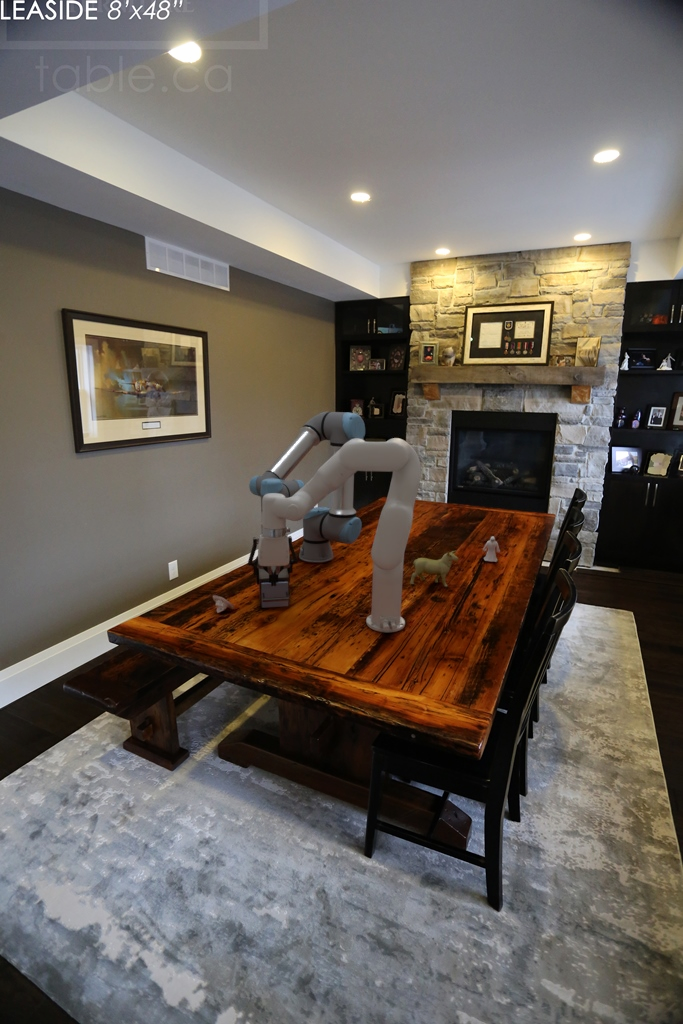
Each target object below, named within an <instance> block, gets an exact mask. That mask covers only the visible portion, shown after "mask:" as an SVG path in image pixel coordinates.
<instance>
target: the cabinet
mask: <svg viewBox="0 0 683 1024" xmlns="http://www.w3.org/2000/svg"><path fill="white" fill-rule="evenodd" d="M275 568H276V566H271V569H272V571H273V575H274V571H275ZM278 580H285V582H287V581H288V597H289V598H290V583H289V574H288V570H287V568H286V569H283V570H282V571H281V572H280V573H279V574H278ZM263 581H269V574H268V573H267V572H266V571H265V570H264V569H259V584H258V597H259V598H258V599H259V608H262V586H261V583H263ZM289 606H290V600H289V601H288V606H287V607H289Z"/></svg>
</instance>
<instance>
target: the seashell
mask: <svg viewBox="0 0 683 1024" xmlns="http://www.w3.org/2000/svg"><path fill="white" fill-rule="evenodd" d="M212 599H213V601H214V602H215V604H214V605H215V608H216V610H215V611H216V613H217V614H219V613H222V612H224V611H225V610H226V609H227V608H229V609H233V610H234V609H235V606H234V604H233V603H231V602H230V601H229V600H227V599H226V598H224V597H223V596H219V595H216V594H215V595H214V594H213V595H212Z"/></svg>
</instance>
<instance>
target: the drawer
mask: <svg viewBox="0 0 683 1024" xmlns="http://www.w3.org/2000/svg"><path fill="white" fill-rule="evenodd" d="M261 586H262V607H261V608H279V607H281V608H282V607H289V606H288V601H289V602H290V596H289V597H288V581H287V582H285V580H278V583H276V586H271V583H269V581H263V583H261Z"/></svg>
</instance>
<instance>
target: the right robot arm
mask: <svg viewBox="0 0 683 1024" xmlns="http://www.w3.org/2000/svg"><path fill="white" fill-rule="evenodd" d="M357 472H389V473H390V472H392V475H391V481H390V485H389V489H388V493H387V496H386V500H385V503H384V505H383V507H382V509H381V512H380V514H379V515H380V516H379V519H378V523H377V526H376V531H375V535H374V538H373V543H372V546H371V550H370V556H371V561H372V585H371V586H372V587H371V607H370V609H371V613H370V615H368V616H367V617H366V621H365V622H366V623H365V624H366V625H367V627H368V628H369V629H372V630H373V631H376V632H379V633H396V632H398V631H402V630H403V629H404V628H405V626H406V620H405V618H403V617H402V615H401V614H402V599H403V598H402V597H403V580H404V561H405V551H406V548H407V544H408V541H409V537H410V533H411V531H412V526H413V521H414V508H415V504H416V500H417V495H418V492H419V487H420V483H421V477H422V466H421V460H420V457H419V456H418V453H417V451H416V450H415V449H414V447H413V446H411V444H410V443H409V442H407V440H404V439H402V438H399V437H394V438H393V437H392V438H389V439H388V440H387V441H366V440H365V439H363V440H362V439H359V438H354V439H351V440H349V441H348V442H347V443H345V444H344V445H343V446H342V448H341V449H339V450H338V451H337V452H336V453H335V454H334V453H333V455H331V457H329V459H328V460H327V461H325V462H324V463H323V464H322V465H321V466H320V467H319V468H318V469H317V471H316V472H315V474H314V475H313V476H312V477H311V478H310V480H308V481H307V482H306V483H304V484H305V485H304V486H303V487H302V488H301V489H300V490H299V491H298V492H296V493H295V494H294V495H293V496H291V497H289V498H286V497H285V496H284V495H283V494H279V493H269V494H265V495H264V496H263V499H262V522H261V533H260V534H259V537H258V538H259V544H257V556H258V564H257V568H258V569H264V570H265V571H266V572H267V573H268V574H269V583H271V586H276V583H278V574H279V573H280V572H281V571H282V570H283V569H286V568H289V567H290V564H289V557H290V547H289V541H288V537H289V536H288V533H291V527H287V520H288V521H293V522H299V521H302V520H303V518H304V517H305V516H306V515H307V514H308V512H310V511H311V510H312V509H313V508H315V507H316V506H317V505H318V504H320V502H321V501H322V500H324V499H325V498H326V497H327V496H329V494H331V493H333V491H335V490H336V489H338V488H339V487H340V486H341V485H342V484H343V483H344V482H346V481H347V480H348V479H349V478H350V477H351V476H352V475H353V474H354V475H355V474H356V473H357ZM271 566H276V568H275V571H274V575H273V571H272V569H271Z"/></svg>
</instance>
